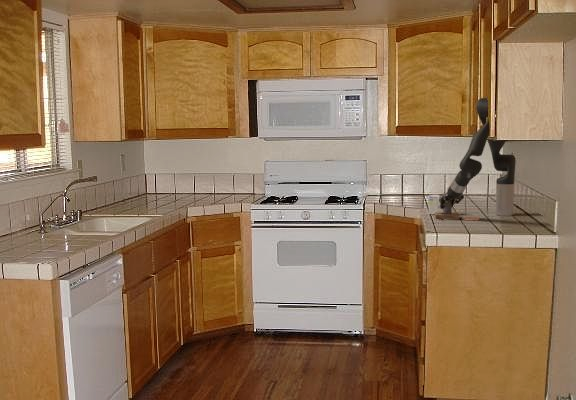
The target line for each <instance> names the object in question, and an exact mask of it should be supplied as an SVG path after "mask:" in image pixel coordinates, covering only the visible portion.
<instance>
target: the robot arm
mask: <svg viewBox="0 0 576 400" xmlns="http://www.w3.org/2000/svg"><path fill="white" fill-rule="evenodd" d="M487 98H488V97H481V98H479V99H478V100H477V102H476V113H477V115H478V117H479V120H480V121H481V124H482V126H481V127H480V128H479V129H478V130H477V131H476V132H475V134H473V136H472V138H471V141H470V142H469V143H470V144H469V147H468V149H467V151H466V153H465V155H464V156H463V158H462V159H461V160H460V162H459V166H458V167H459V169H460V171H458V173H457V174H456V175H455V177H454V179H453V180H451V181H452V182H451V183H450V185H449V186H448V188H447V192H445V193H446V194H445V195H442V194H443V193H441V194H439V195H440V198H439V202H440V208H441V209H443V208H444V206H445V204H446V203H448V202H449V201H452V208H453V206H454V205H455V204H456V205H457V204H460V203H461V202H462V201H463V200H464V198H465V196H464V192H465V190H466V189H467V186H468V184H469V182H470V181H471V180H472V179H474V178H476V176H477V175H478V174H479V173H480V172H481V170H482V169H483V164H482V162H481V161H479V160H476V159H473V158H472V157H473V156H474V157H480V156H482V155H483V153H484V150H485V147H486V143H488V145H489V149H490V152H491V156H492V157H491V158H492V162H493V168H494V169H495V171H497V172H506V174H505V175H504V176H501V177H498V178H496V182H495V185H496V187H495V188H496V191H495V193H496V195H495V215H496V216H501V217H502V216H503V217H507V216H509V217H510V216H514V209H515V208H514V206H515V203H514V202H515V178H516V176H515V173H516V162H517V161H516V160H517V159H516V157H515V155H514V154H503V153H502V154H501V153H500V152H501V149H502V148H503V147H504V145H505V144H506V141H493V140H489V139H487V138H488V136H489V118H488V120H487V122H486V117H488V100H487ZM444 201H445V202H444Z"/></svg>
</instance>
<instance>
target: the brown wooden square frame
mask: <svg viewBox="0 0 576 400" xmlns="http://www.w3.org/2000/svg"><path fill="white" fill-rule="evenodd" d="M435 218H436V219H449V220H448V221H460V214H459V213H458V212H453V211H452V214H443V212H435V215H434V219H435ZM436 219H435V220H436ZM450 219H451V220H450Z"/></svg>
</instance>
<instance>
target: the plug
mask: <svg viewBox="0 0 576 400" xmlns="http://www.w3.org/2000/svg"><path fill="white" fill-rule="evenodd" d="M446 193H447V192H445V193H441V194H442V195H445V194H446ZM444 202H445V201H444ZM452 208H453V207H452V201H449V202H448V203H446V204H445V206H444V208H443V214H452V212H453V211H452Z"/></svg>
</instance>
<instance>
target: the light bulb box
mask: <svg viewBox="0 0 576 400" xmlns="http://www.w3.org/2000/svg"><path fill="white" fill-rule="evenodd" d="M440 195H441V194H431V195H428V215H429V214H435V212H443V209H441V208H440V202H439V198H440Z"/></svg>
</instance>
